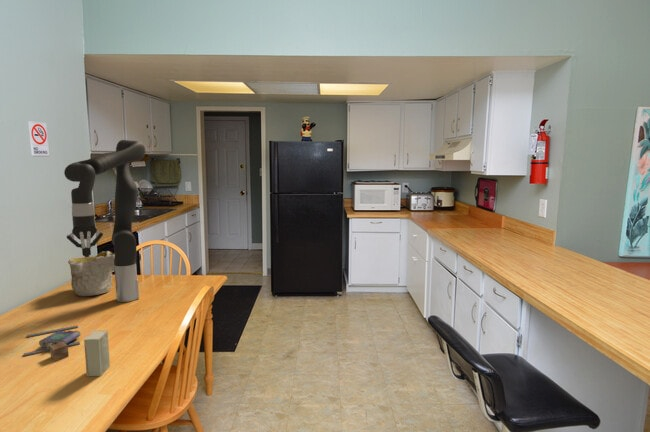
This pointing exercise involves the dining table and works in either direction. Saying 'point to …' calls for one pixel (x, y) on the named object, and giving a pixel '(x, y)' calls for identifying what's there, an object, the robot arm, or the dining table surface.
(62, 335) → the flask
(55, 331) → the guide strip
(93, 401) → the dining table surface
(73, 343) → the guide strip
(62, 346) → the walnut cube
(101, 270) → the ceramic vessel
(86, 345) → the skincare box
